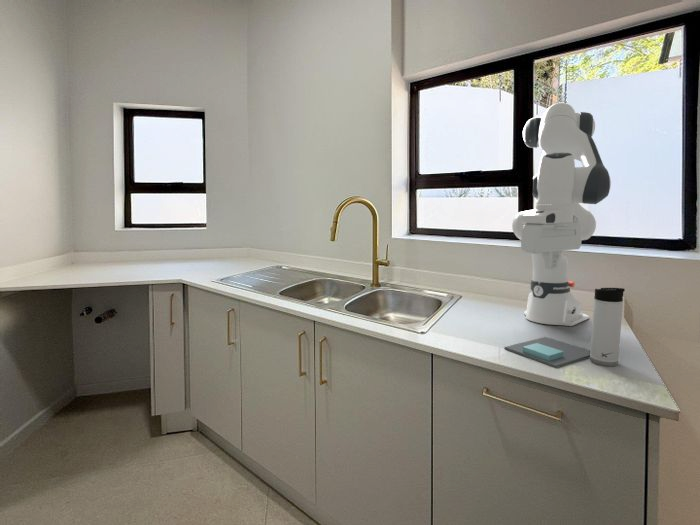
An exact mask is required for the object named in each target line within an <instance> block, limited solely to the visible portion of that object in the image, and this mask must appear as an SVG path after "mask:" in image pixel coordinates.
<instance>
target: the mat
mask: <svg viewBox="0 0 700 525" xmlns="http://www.w3.org/2000/svg"><path fill="white" fill-rule="evenodd" d="M535 343H539V344H542V345H545V346H548V347H551V348H554V349H557V350H561V351H564V352H563V357H560V358H557V359H553V360H550V361H548V360H545V359H542V358H539V357H537V356H534V355H531V354H528V353H525V352H523V347H524V346H527V345H531V344H535ZM504 350H506V351H508V352H512V353H514V354H517V355H520V356H523V357H526V358H528V359H530V360H534V361H536V362H539V363H542V364H545V365H548V366H550V367H553V368H555V369H557V368H559V367H563V366H567V365H569V364H572V363H573V364H574V363H576V362H579V361H582V360H585V359H590V350H591V349H587V348H585V347H580V346H577V345H575V344H571V343H567V342H565V341H561V340H558V339H554V338H551V337H547V336H544V337H539V338H535V339H532V340H528V341H527V340H526V341H523V342H519V343H514V344H512V345H507V346H504Z"/></svg>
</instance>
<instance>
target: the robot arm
mask: <svg viewBox="0 0 700 525" xmlns="http://www.w3.org/2000/svg"><path fill="white" fill-rule="evenodd" d="M595 130H596V121H595V119H594V116H593V115H592V113H589V112H586V111H585V112H584V111H582V112H581V111H580V112H576V111H575V109H574V108H573V106H571V104H569V103H566V102H557V103H554V104H552V105H550V106H549V107H548V108H547V109H546V110H545V111H544V113H543V115H542V116H534V117H532V118H530V119H529V118H528V120H527V121H526V123H525V125H524V127H523V130H522V138H523V141H524V144H525V145H526V147H528V148H530V149H531V148H532V149H537V148H540V149H541V150H542V154H541V157H540V161H539V166H538V171H537V172H538V173H536V174H535V175H534V176H533V177H532V180H533V181H532V196H533V197H534V198H535V199H536V202H535V203H536V204H535V208H534V209H529V210H524V211H519V212H518V213H516V215H514V218H513V220H512V225H511V226H512V232H513V234H514V235H515V237H516V238H517V239H519V240H520V246H521V247H520V248H521V251H522V252H523V253H524V254H530V255H531V256H530V257H531V260H532V278H531V281H530V290H531V291H530V292H529V293H528V298H527V302H526V305H527V306H526V310H524V312H523V314H524V316H525V319H527V320H528V321H530V322H533V323H537V324H543V325H553V326H556V325H557V326H566V327H568V326H569V327H572V326H575V325H578V324H580V323H582V322H584V321H586V320H588V319H590V318H589V317H590V316H589V315H588V314H585V313H583V312H582V302H581V301H580V300H579V299H578V298H577V297H576V296H575V295H574V294H573V293H572V292H571V288H574V287H575V285H576V283H575V281H570V280H568V276H569V275H568V274H569V261H568V258H567V256H565V255H564V254H562V252H563V251H570V250H571V251H572V250H579V249H580V248H581V246H582V241H586V240H589V239H590V238H591V237H592V236H594V234H595V232H596V229H597V221H596V218H595V217H594V215H593V214H592V213H591V211H589V210H587V209H586V208H584V207H583V206H582V205H581V204H585V205H586V204H587V205H597V204H598V203H600V202H602V201H603V200H605V199H606V198H607V197H608V196H609V194H610V190H611V185H612V182H611V181H612V180H611V176H610V173H609V171H608V169H607V168H606V166H605V165H604V163H603V161H602V158H601V155H600V153H599V150H598V147H597V146H596V142H595V140H594V139H593V135H594V133H595ZM575 160H576V161H578V162H581V164H582V166H580V167H579V166H578V167H577V166H576V165H575V164H576V163H575ZM575 166H576V167H575Z"/></svg>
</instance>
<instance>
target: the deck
mask: <svg viewBox="0 0 700 525" xmlns="http://www.w3.org/2000/svg"><path fill="white" fill-rule="evenodd" d="M523 352H525V353H528V354H531V355H534V356H537V357H539V358H542V359H545V360H548V361H550V360H553V359H557V358H560V357H563V352H564V351H561V350H557V349H554V348H551V347H548V346H545V345H542V344H539V343H535V344H531V345H527V346H524V347H523Z"/></svg>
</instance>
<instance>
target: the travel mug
mask: <svg viewBox="0 0 700 525" xmlns="http://www.w3.org/2000/svg"><path fill="white" fill-rule="evenodd" d="M624 292H625V288H623V287H600V288H595V289H594V298H593V309H592V311H593V312H592V323H591V324H592V325H591V336H590V338H591V340H590V349H589V350H590V357H589V361H591V362H592V363H593V364H595V365H599V366H603V367H615V366H617V365H619V358H620V356H619V354H620V345H621V344H620V343H621V342H620V341H621V331H622V320H623V319H622V318H623V307H624V304H623V303H624V298H623V297H624Z"/></svg>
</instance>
